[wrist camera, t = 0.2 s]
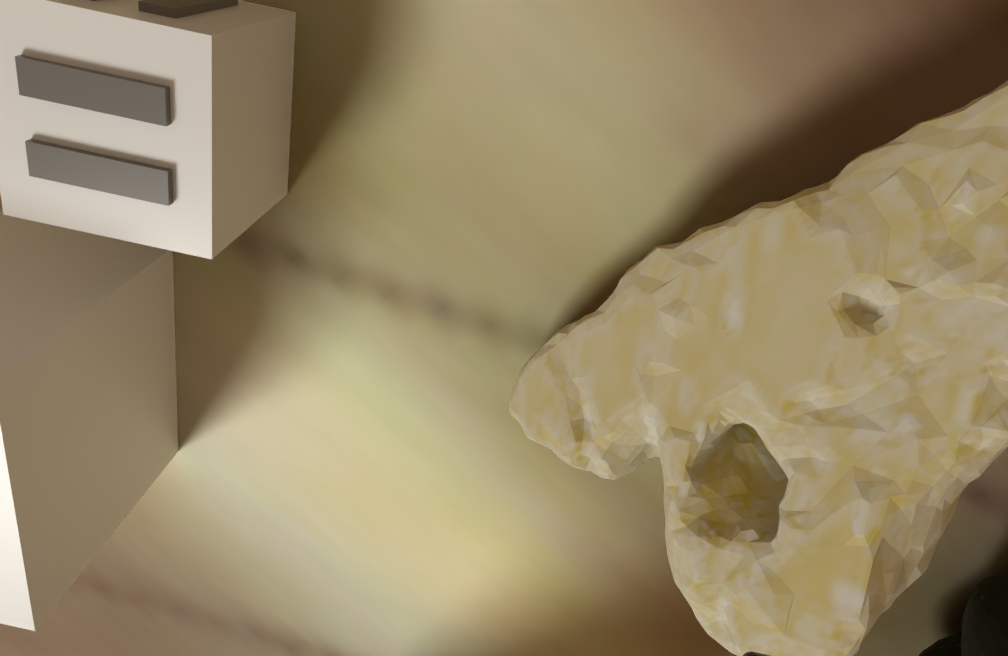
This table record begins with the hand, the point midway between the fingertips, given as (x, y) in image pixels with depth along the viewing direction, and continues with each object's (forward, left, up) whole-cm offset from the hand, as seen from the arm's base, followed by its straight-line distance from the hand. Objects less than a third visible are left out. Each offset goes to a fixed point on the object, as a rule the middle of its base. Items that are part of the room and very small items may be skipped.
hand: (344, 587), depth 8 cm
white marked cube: (+1, +8, -15) cm, 17 cm away
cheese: (0, -8, -15) cm, 17 cm away
